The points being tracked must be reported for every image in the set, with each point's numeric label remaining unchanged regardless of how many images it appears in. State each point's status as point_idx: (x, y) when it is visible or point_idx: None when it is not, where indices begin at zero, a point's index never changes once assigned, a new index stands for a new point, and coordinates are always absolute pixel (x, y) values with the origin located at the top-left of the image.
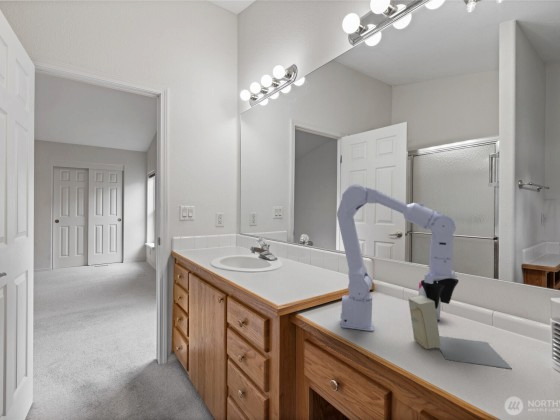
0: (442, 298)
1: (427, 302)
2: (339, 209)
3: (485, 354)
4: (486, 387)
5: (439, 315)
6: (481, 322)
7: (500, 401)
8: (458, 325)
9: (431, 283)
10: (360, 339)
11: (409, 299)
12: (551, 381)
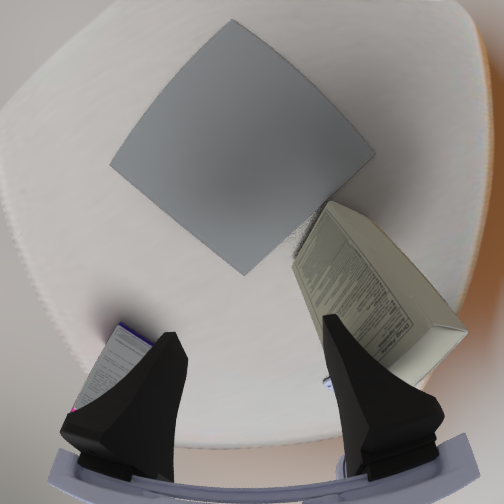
0: (181, 370)
1: (449, 330)
2: None
3: (209, 103)
4: (409, 31)
5: (114, 334)
6: (23, 263)
7: (428, 5)
8: (88, 281)
9: (464, 435)
10: None
11: None
12: None
